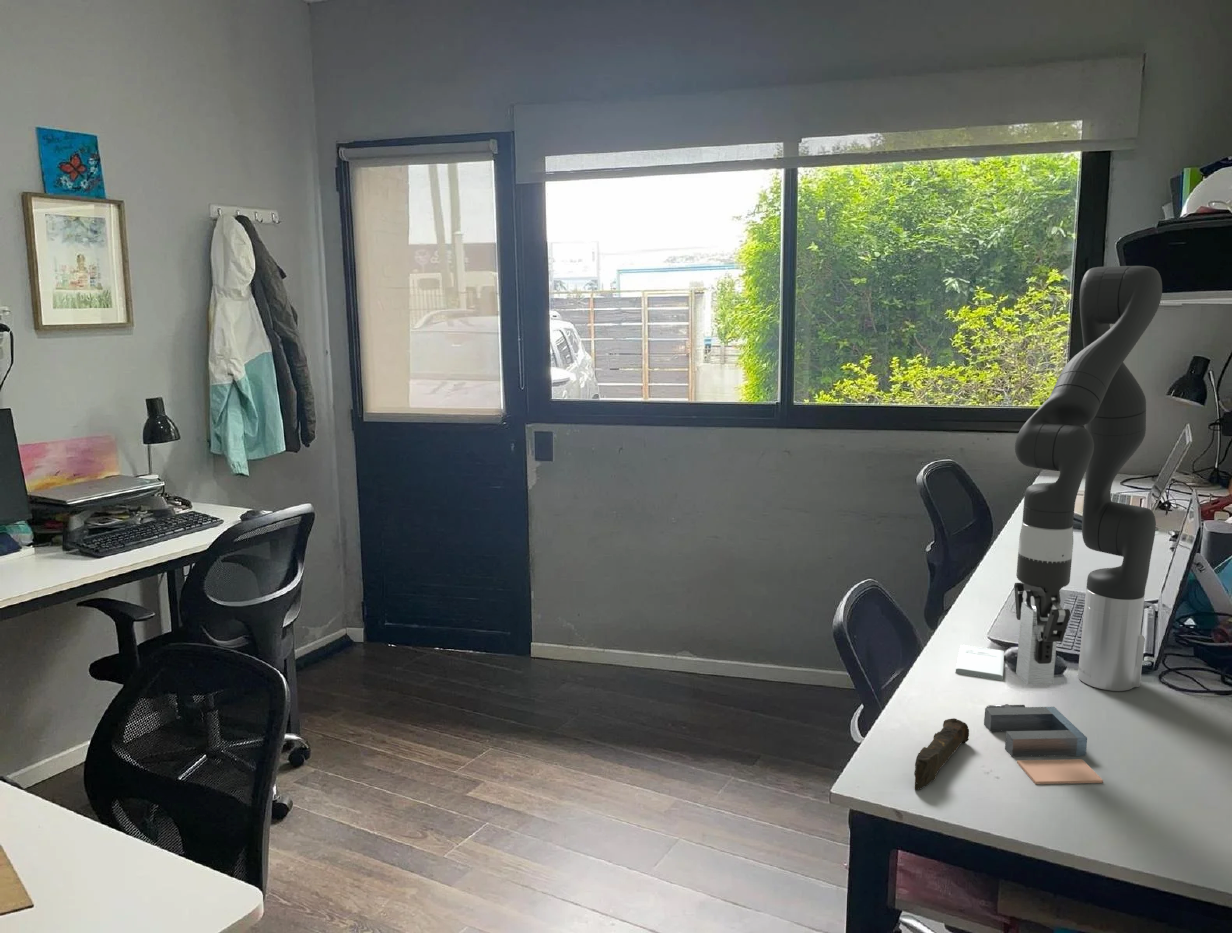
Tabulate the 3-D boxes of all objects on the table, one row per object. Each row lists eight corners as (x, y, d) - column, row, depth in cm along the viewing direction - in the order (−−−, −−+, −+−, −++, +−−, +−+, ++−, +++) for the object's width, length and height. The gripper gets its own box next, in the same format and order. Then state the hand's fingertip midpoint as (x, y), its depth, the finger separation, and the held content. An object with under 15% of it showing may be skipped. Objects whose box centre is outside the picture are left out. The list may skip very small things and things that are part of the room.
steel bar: (1040, 672, 147) (1046, 601, 145) (1052, 683, 143) (1059, 611, 141) (1016, 673, 147) (1021, 602, 145) (1027, 684, 143) (1033, 611, 141)
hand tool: (943, 736, 149) (945, 710, 148) (968, 744, 146) (970, 717, 146) (896, 786, 135) (898, 757, 134) (923, 796, 132) (925, 766, 131)
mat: (1081, 761, 141) (1081, 759, 140) (1102, 782, 135) (1103, 780, 135) (1016, 762, 140) (1017, 760, 140) (1035, 783, 134) (1035, 781, 134)
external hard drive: (955, 675, 172) (959, 651, 183) (1002, 683, 169) (1003, 657, 180) (955, 667, 172) (960, 643, 183) (1003, 675, 169) (1004, 649, 180)
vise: (1042, 713, 156) (1044, 697, 155) (1085, 755, 142) (1087, 737, 142) (975, 714, 156) (976, 698, 155) (1011, 756, 142) (1013, 739, 141)
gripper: (1093, 566, 134) (1083, 675, 138) (1047, 538, 148) (1038, 638, 151) (1042, 567, 134) (1033, 676, 137) (1000, 539, 148) (993, 639, 151)
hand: (1036, 656), depth 144 cm, fingers closed on steel bar, 4 cm apart
